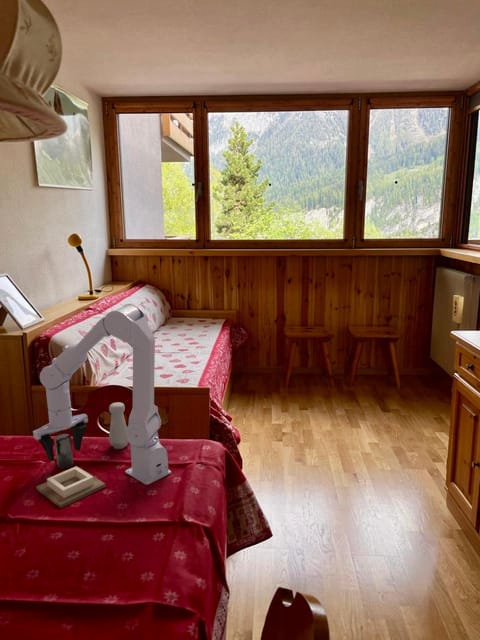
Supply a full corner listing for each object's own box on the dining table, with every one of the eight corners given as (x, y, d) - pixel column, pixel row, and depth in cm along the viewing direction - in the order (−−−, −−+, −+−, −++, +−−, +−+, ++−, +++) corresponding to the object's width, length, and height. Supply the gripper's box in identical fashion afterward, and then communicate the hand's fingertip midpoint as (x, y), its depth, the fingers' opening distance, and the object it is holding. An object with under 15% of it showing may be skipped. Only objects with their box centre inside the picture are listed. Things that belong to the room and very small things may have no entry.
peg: (76, 464, 136) (73, 436, 134) (62, 469, 133) (59, 442, 131) (68, 459, 139) (65, 432, 137) (54, 464, 136) (51, 437, 134)
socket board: (105, 486, 125) (104, 476, 124) (60, 508, 116) (59, 497, 115) (80, 470, 133) (79, 460, 132) (36, 489, 124) (35, 479, 123)
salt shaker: (127, 450, 143) (124, 407, 140) (107, 450, 143) (103, 408, 140) (131, 441, 149) (129, 400, 146) (112, 441, 149) (109, 400, 146)
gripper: (76, 396, 140) (80, 440, 143) (25, 411, 130) (31, 459, 133) (90, 402, 135) (94, 448, 138) (38, 419, 125) (44, 468, 128)
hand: (64, 454), depth 135 cm, fingers open, 7 cm apart
